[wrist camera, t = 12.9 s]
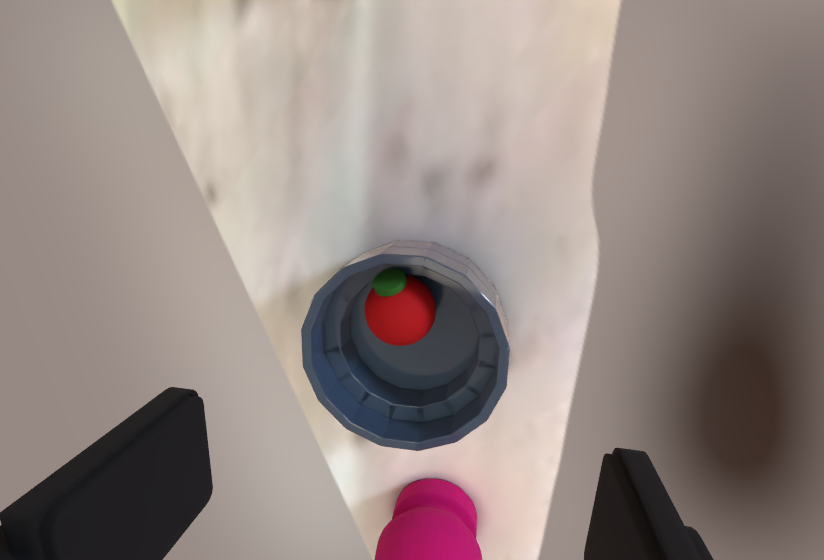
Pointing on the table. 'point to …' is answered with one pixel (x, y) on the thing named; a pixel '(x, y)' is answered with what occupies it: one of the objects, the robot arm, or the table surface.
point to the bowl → (409, 351)
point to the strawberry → (399, 308)
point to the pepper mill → (431, 524)
